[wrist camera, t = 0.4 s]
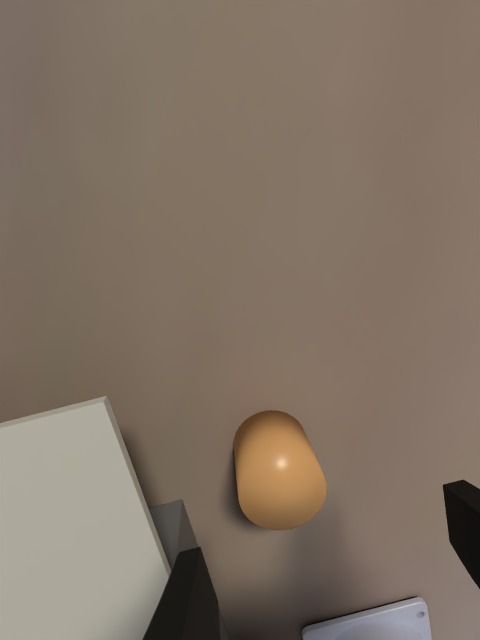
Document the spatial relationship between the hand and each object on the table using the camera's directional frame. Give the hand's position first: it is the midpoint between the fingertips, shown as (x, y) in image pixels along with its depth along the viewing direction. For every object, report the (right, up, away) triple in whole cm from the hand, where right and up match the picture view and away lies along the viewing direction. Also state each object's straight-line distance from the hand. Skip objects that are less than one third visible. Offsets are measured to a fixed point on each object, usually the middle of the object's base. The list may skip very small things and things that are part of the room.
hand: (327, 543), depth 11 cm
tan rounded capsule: (-1, 0, +10) cm, 10 cm away
